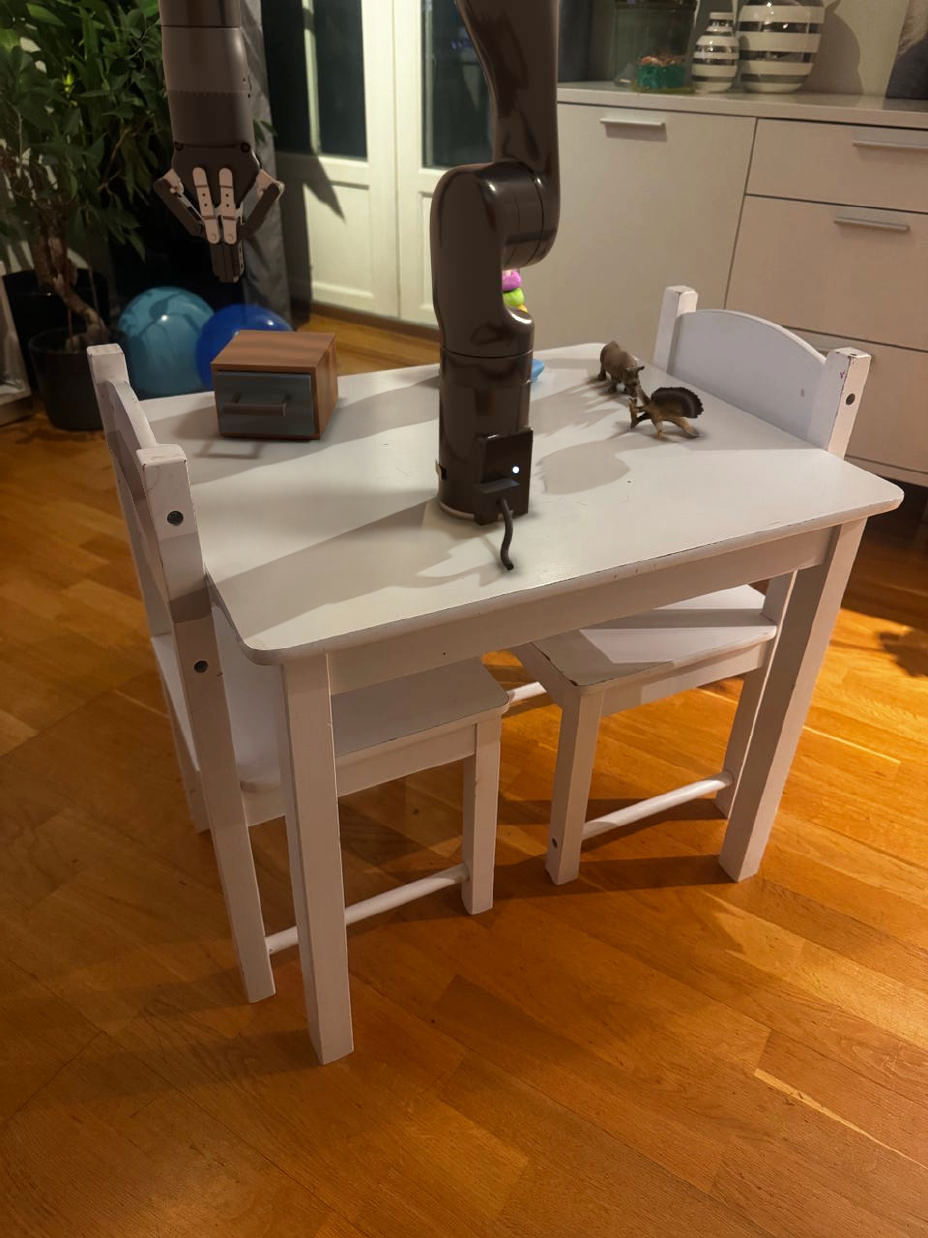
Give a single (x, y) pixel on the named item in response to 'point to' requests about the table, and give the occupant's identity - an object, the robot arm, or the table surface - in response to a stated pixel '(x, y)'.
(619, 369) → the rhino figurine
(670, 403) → the brown plastic figure
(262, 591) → the table surface
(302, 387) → the drawer
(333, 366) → the cabinet
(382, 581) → the table surface
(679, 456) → the table surface
